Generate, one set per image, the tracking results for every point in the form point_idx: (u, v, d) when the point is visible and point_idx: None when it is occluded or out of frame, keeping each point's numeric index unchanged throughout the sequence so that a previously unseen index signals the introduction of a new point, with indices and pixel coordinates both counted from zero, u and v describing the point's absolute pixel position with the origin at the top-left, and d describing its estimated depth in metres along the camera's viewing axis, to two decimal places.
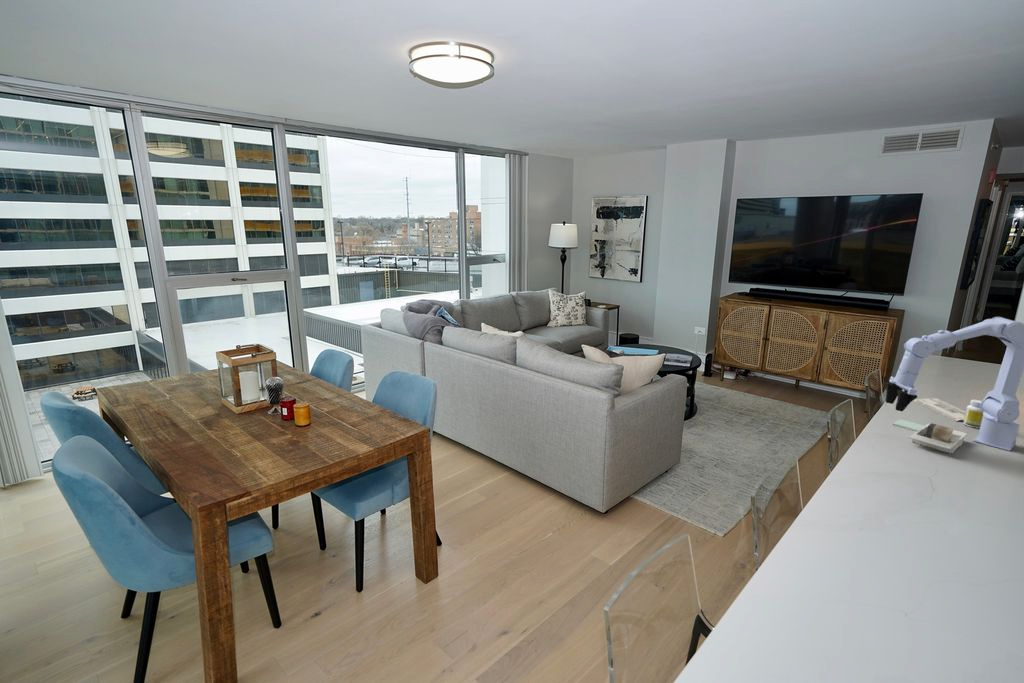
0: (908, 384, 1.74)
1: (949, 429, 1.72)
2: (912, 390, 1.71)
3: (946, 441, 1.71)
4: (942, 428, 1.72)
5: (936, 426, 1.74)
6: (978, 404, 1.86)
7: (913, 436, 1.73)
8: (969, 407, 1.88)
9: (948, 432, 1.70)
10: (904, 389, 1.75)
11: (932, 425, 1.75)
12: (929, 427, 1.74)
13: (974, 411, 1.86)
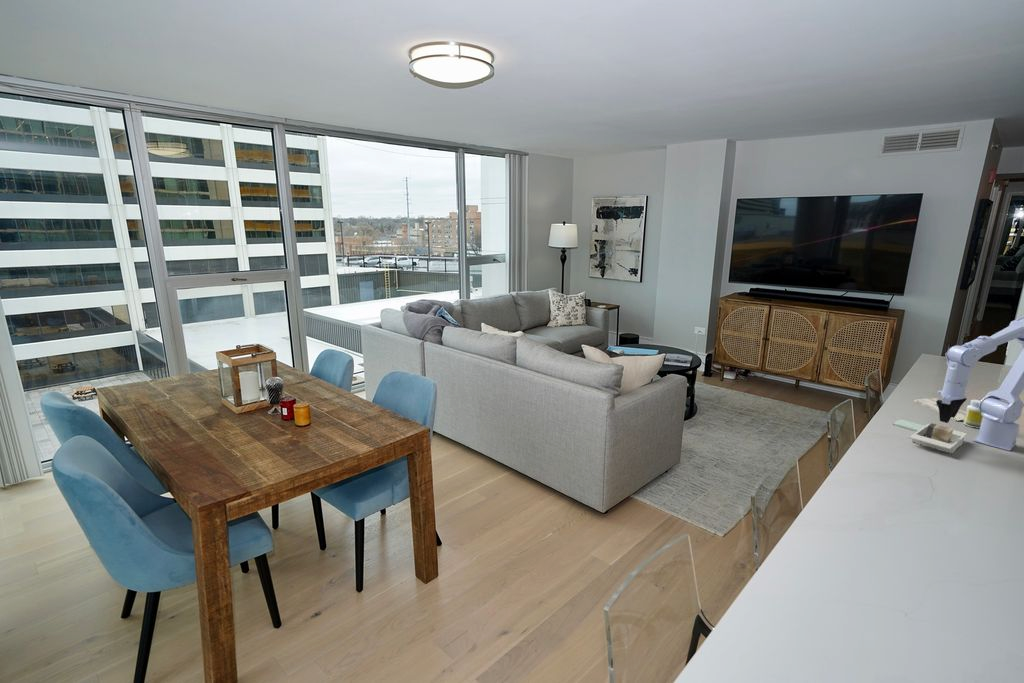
0: (951, 394, 1.67)
1: (949, 429, 1.72)
2: (945, 399, 1.65)
3: (946, 441, 1.71)
4: (942, 428, 1.72)
5: (936, 426, 1.74)
6: (978, 404, 1.86)
7: (913, 436, 1.73)
8: (969, 407, 1.88)
9: (948, 432, 1.70)
10: None
11: (932, 425, 1.75)
12: (929, 427, 1.74)
13: (974, 411, 1.86)
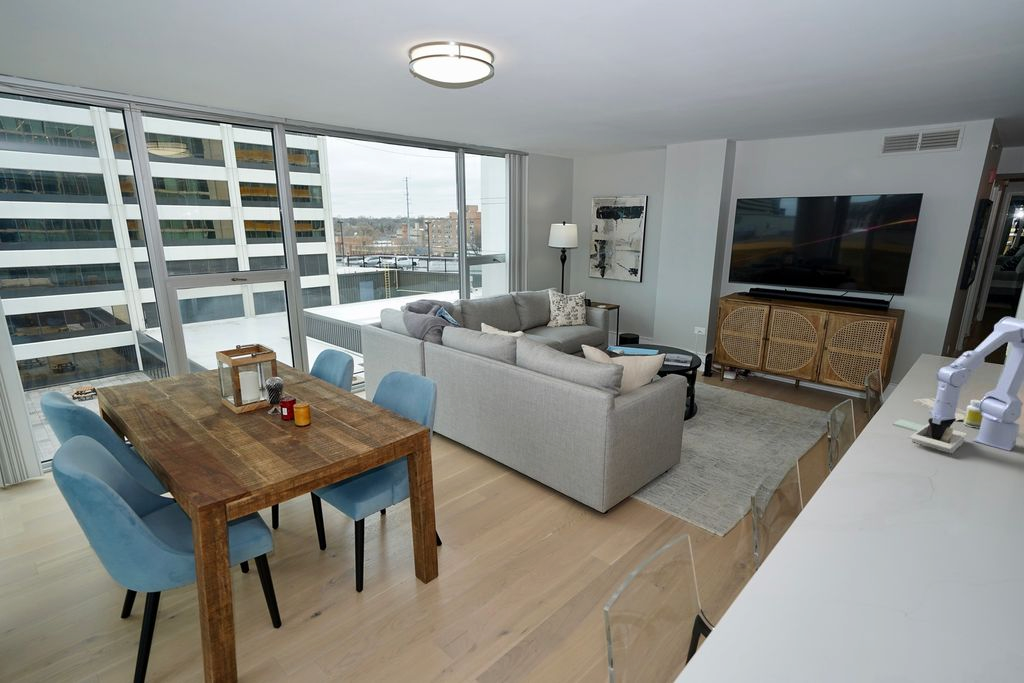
0: (941, 414, 1.70)
1: (949, 429, 1.72)
2: (935, 419, 1.68)
3: (946, 441, 1.71)
4: None
5: None
6: (978, 404, 1.86)
7: (913, 436, 1.73)
8: (969, 407, 1.88)
9: (948, 432, 1.70)
10: None
11: None
12: (929, 426, 1.74)
13: (974, 411, 1.86)
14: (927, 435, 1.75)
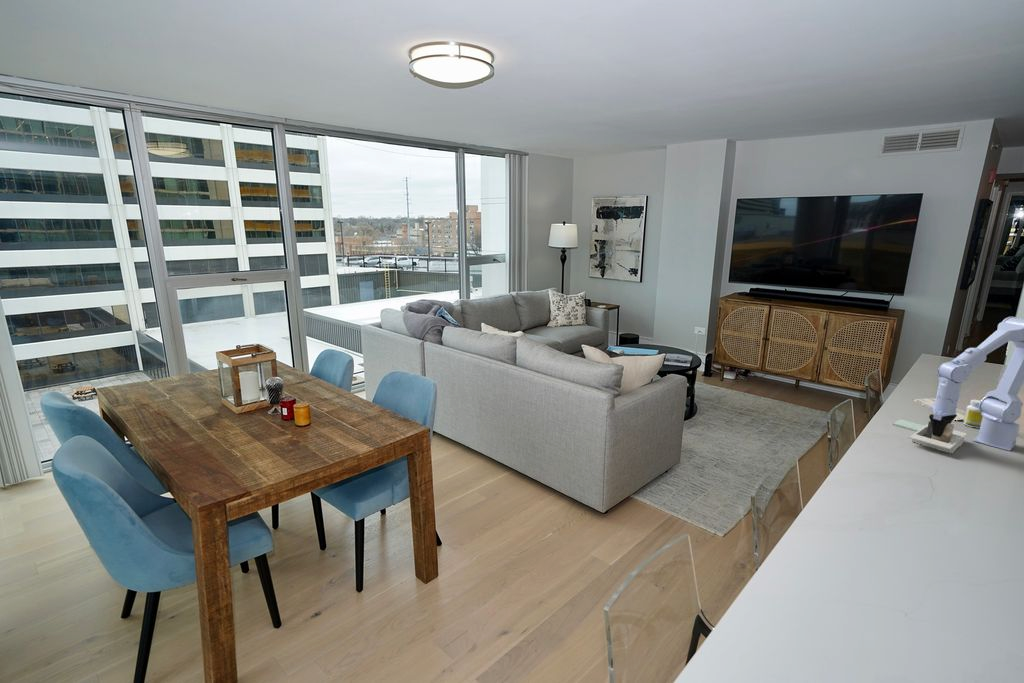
0: (942, 410, 1.70)
1: (950, 425, 1.71)
2: (936, 415, 1.68)
3: (947, 437, 1.71)
4: None
5: None
6: (978, 404, 1.86)
7: (913, 436, 1.73)
8: (969, 407, 1.88)
9: (949, 428, 1.70)
10: None
11: None
12: (930, 423, 1.74)
13: (974, 411, 1.86)
14: (928, 431, 1.75)
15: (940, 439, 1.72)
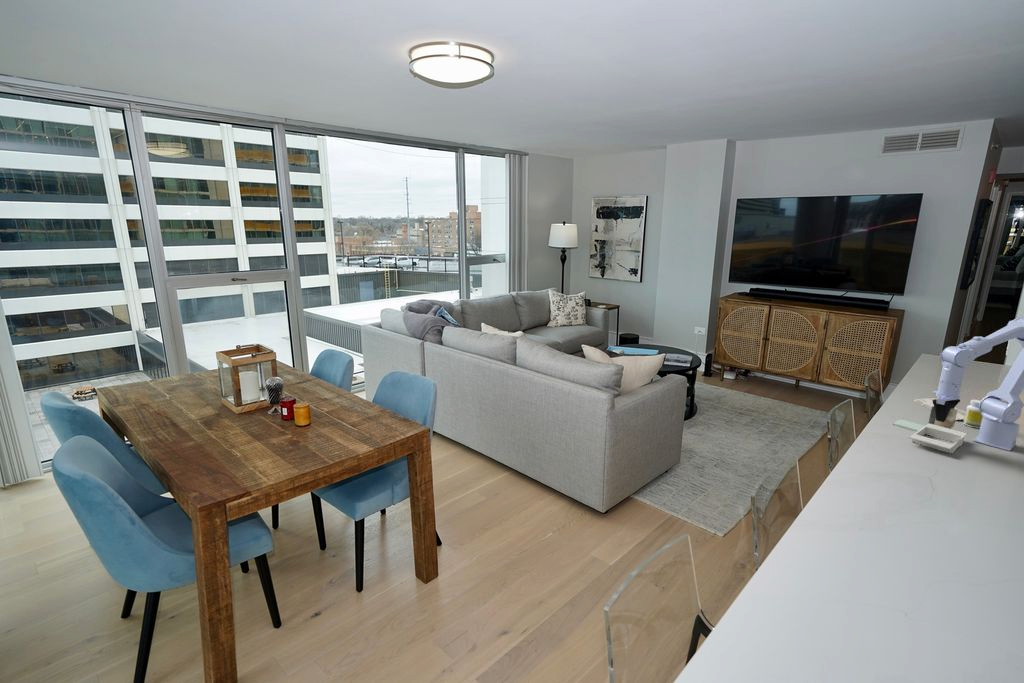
0: (946, 394, 1.69)
1: (953, 410, 1.70)
2: (939, 399, 1.67)
3: (950, 422, 1.69)
4: None
5: None
6: (978, 404, 1.86)
7: (913, 436, 1.73)
8: (969, 407, 1.88)
9: (952, 413, 1.68)
10: None
11: None
12: (933, 408, 1.73)
13: (974, 411, 1.86)
14: (931, 416, 1.73)
15: (944, 424, 1.71)
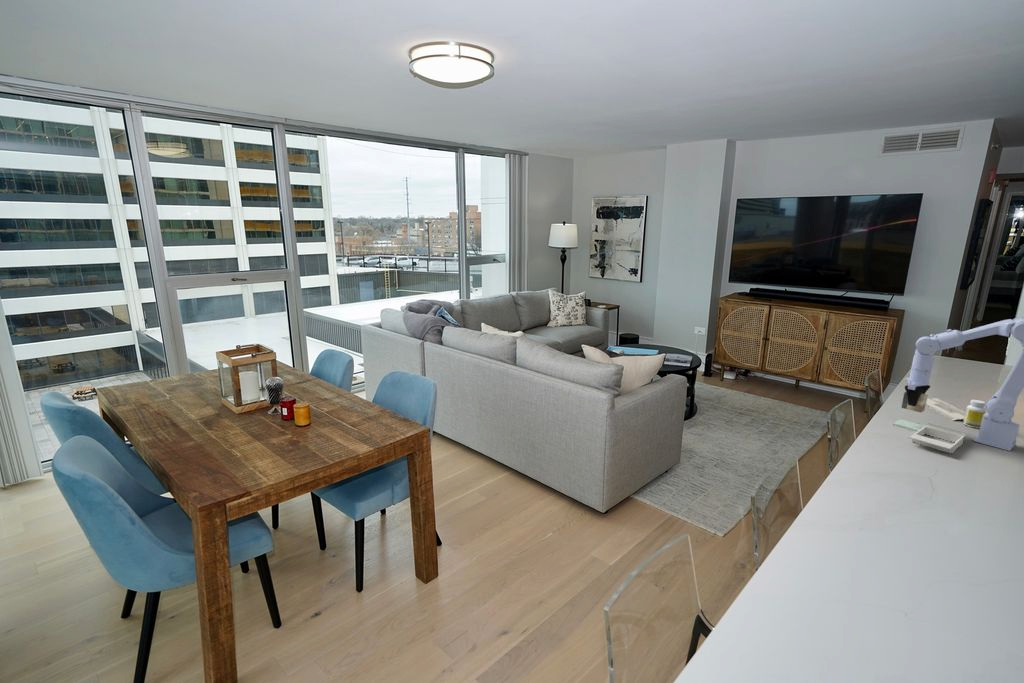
0: (916, 381, 1.83)
1: (924, 395, 1.84)
2: (910, 385, 1.81)
3: (921, 406, 1.83)
4: None
5: None
6: (978, 404, 1.86)
7: (913, 436, 1.73)
8: (969, 407, 1.88)
9: (923, 397, 1.83)
10: None
11: None
12: (905, 393, 1.87)
13: (974, 411, 1.86)
14: (904, 401, 1.87)
15: (915, 408, 1.85)
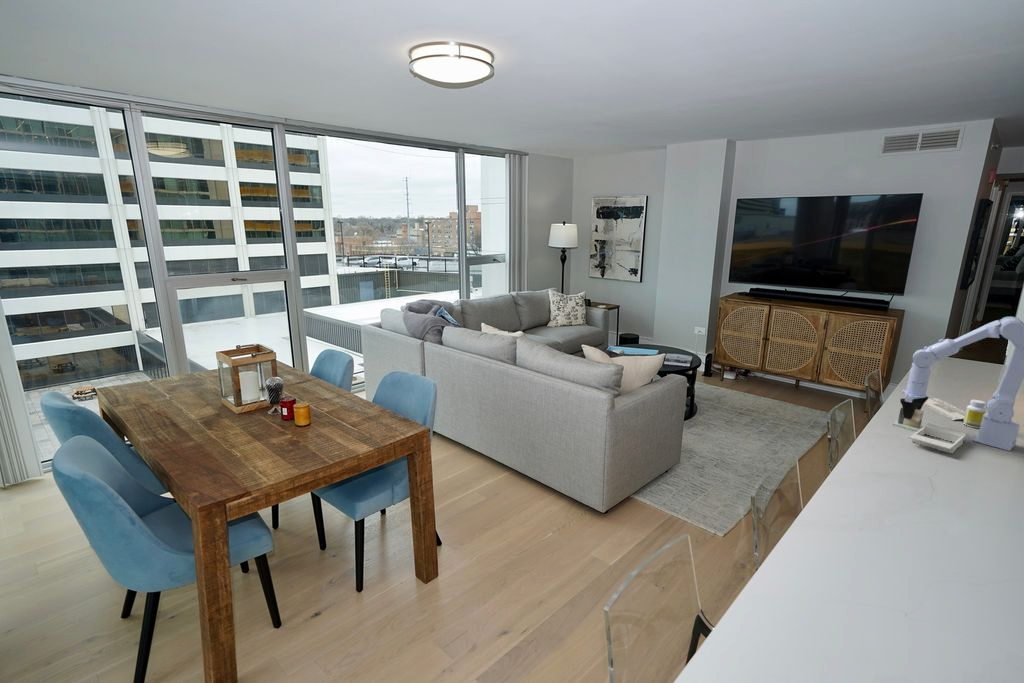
0: (913, 393, 1.84)
1: (920, 411, 1.86)
2: (907, 397, 1.82)
3: (917, 422, 1.85)
4: None
5: None
6: (978, 404, 1.86)
7: (913, 436, 1.73)
8: (969, 407, 1.88)
9: (919, 414, 1.84)
10: None
11: None
12: (901, 409, 1.88)
13: (974, 411, 1.86)
14: (900, 417, 1.89)
15: (911, 424, 1.87)
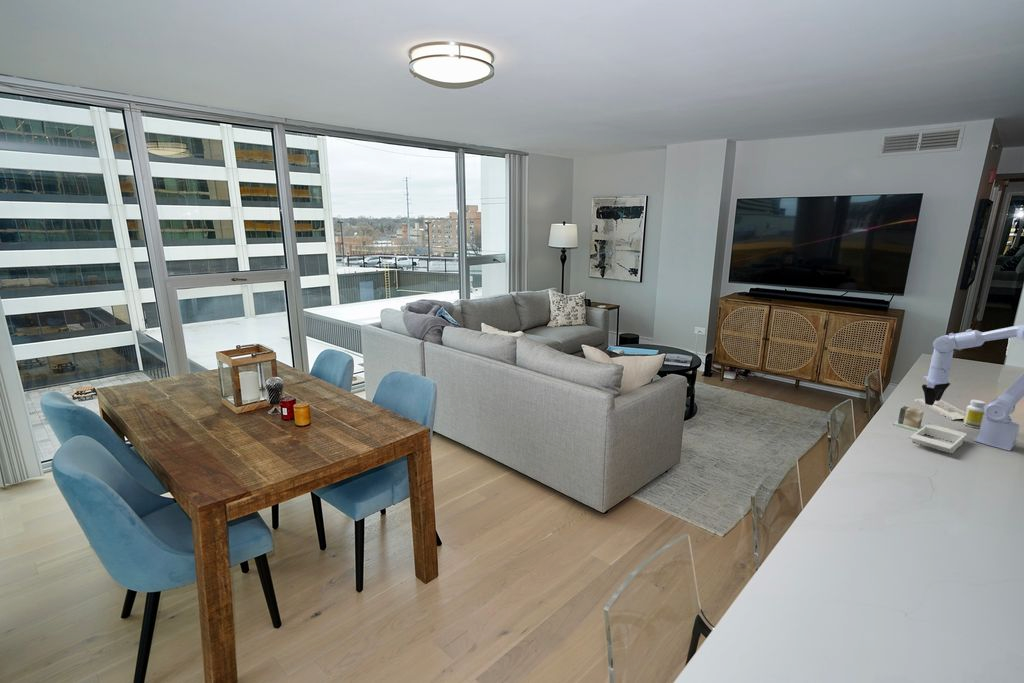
0: (935, 379, 1.83)
1: (920, 411, 1.86)
2: (929, 383, 1.81)
3: (917, 422, 1.85)
4: (913, 410, 1.86)
5: (908, 408, 1.88)
6: (978, 404, 1.86)
7: (913, 436, 1.73)
8: (969, 407, 1.88)
9: (919, 414, 1.84)
10: None
11: (905, 408, 1.89)
12: (901, 409, 1.88)
13: (974, 411, 1.86)
14: (900, 417, 1.89)
15: (911, 424, 1.87)
